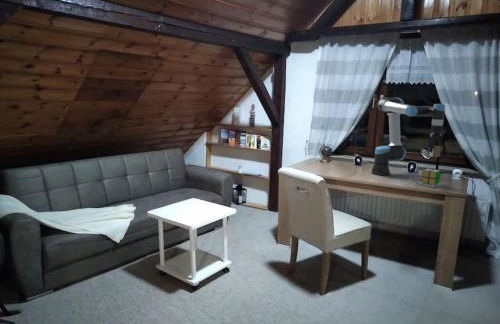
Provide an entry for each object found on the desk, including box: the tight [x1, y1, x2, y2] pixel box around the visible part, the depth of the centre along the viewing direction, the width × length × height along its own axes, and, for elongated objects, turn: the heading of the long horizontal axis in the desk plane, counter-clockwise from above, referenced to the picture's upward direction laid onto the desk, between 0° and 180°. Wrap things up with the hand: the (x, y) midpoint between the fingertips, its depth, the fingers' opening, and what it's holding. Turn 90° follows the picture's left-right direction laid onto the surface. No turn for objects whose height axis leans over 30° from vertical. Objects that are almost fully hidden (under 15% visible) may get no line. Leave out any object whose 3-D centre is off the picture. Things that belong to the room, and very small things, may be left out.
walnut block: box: [427, 144, 442, 158], centre depth 265 cm, size 6×6×8 cm
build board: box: [416, 181, 446, 189], centre depth 270 cm, size 14×14×1 cm
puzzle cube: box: [420, 168, 442, 185], centre depth 269 cm, size 10×10×10 cm
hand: (433, 156), depth 265 cm, fingers closed on walnut block, 6 cm apart
